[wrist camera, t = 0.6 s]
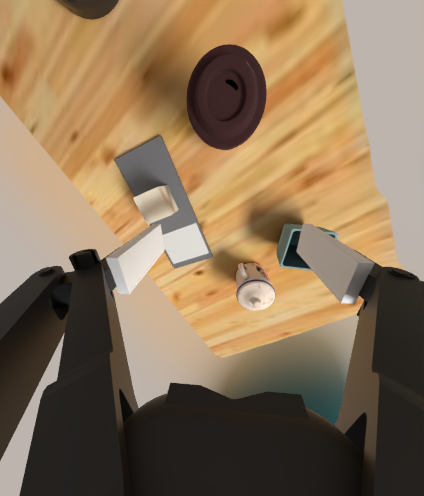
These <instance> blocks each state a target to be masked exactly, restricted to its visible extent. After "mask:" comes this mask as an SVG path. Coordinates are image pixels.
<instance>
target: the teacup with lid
mask: <svg viewBox="0 0 424 496" xmlns="http://www.w3.org/2000/svg"><path fill="white" fill-rule="evenodd" d="M236 282H237V300H238V301H239V303H240V304H241V305H242V306H243V307H245V308H247V309H249V310H262V309H265V308H267V307H268V306H270V305H271V304H272V303H273V301H274V298H275V290H274V288H273V287H272V285H271V283H270V281H269V278H268V275H267V273H266V271H265V269H264V268H263V267H262V266H261V265H259V264H257V263H247V264H243V263H240V264H238V270H237V273H236Z"/></svg>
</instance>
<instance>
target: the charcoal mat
mask: <svg viewBox="0 0 424 496" xmlns="http://www.w3.org/2000/svg"><path fill="white" fill-rule="evenodd" d="M115 162H116V164H117V165H118V167H119V169H120V171H121V173H122V174H123V176H124V178H125V180H126V182H127V183H128V185H129V187H130V189H131V191H132V192H133V194H134V196H135V197H136V196H138V195H140V194H143V193H145V192H147V191H149V190H152V189H154V188H156V187H159V186H165V185H168V186H169V188H170V191H171V193H172V195H173V197H174V199H175V201H176V204H177V206H178V208H179V210H178V211H177V212H175V213H174V214H172V215H171V216H168V217H166V218H163V219H160V220H158V221H155V222H153V223H150V225H152V224H161V230H162V235H163V241H164V247H165V252H166V254H167V256H168V258H169V259H170V261H171V263H172V265H173V267H174V269H175V268H178V267H182V266H185V265H188V264H192V263H195V262H198V261H202V260H205V259H208V258H212V257H213V255H212V253H211V251H210V248H209V246H208V244H207V241H206V239H205V237H204V234H203V232H202V230H201V227H200V225H199V223H198V220H197V218H196V216H195V213H194V211H193V208H192V206H191V204H190V201H189V199H188V197H187V194H186V192H185V190H184V187H183V185H182V183H181V180H180V178H179V176H178V173H177V171H176V169H175V166H174V164H173V162H172V159H171V157H170V155H169V152H168V150H167V148H166V145H165V143H164V141H163V138H162V136H159V137H157V138H155V139H153V140H151V141H149V142H148V143H146V144H144V145H142V146H140V147H138V148H136V149H134V150H133V151H131V152H129V153H127V154H125V155H123V156H121V157H120V158H118V159H116V160H115Z"/></svg>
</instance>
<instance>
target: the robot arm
mask: <svg viewBox="0 0 424 496" xmlns="http://www.w3.org/2000/svg"><path fill="white" fill-rule="evenodd" d="M59 1H60V2H61V3H62V4H63V5H64V6H65V7H66V8H68V9H69V10H70V11H71V12H73V13H74V14H76V15H78V16H80V17H83V18H87V19H97V18H101V17H103V16H105V15H107V14H108V13H109V12H110V11H111V10H112V9H113V8H114V7H115V5H116V4H117V2H118V0H59ZM164 250H165V247H164V241H163V235H162V230H161V224H152V225H151V226H150V227H148V228H147V229H145V230H144V231H143V232H141V233H140V234H138V235H137V236H136V237H134V238H133V239H131V240H130V241H128V242H127V243H126V244H124V245H123V246H121V247H120V248H118V249H116V250H115V251H114V252H112V253H111V254H110V255H108V256H107V257H105V258H103V259H102V260H101V261H100V258H99V256H98V253H97V251H96V250H95V249H87V250H82V251H78V252H76V253H73V254H72V255H70V256H69V259H70V261H71V263H72V265H73V267H74V269H75V271H73V272H67V273H64V271H63V269H62V267H61V266H53V267H47V268H43V269H41V270H40V271H38V272H36V273H34V274H33V275H31V276H30V277H29V278H28V279H27V280H26V281H25V282H24V283H23V284H22V285H20V286H19V288H17V289H16V290H15V291H14V292H13V293H12V294H11V295H10V296H8V297H7V298H6V299H5V300H4V301H3V302H2V303H1V304H0V460H1V458H2V456H3V454H4V452H5V450H6V448H7V446H8V444H9V442H10V440H11V438H12V436H13V434H14V432H15V430H16V428H17V426H18V424H19V422H20V420H21V418H22V416H23V414H24V412H25V410H26V408H27V406H28V404H29V402H30V400H31V398H32V396H33V394H34V392H35V390H36V388H37V386H38V384H39V382H40V380H41V378H42V376H43V374H44V372H45V370H46V368H47V366H48V364H49V362H50V360H51V358H52V356H53V354H54V352H55V350H56V348H57V346H58V344H59V342H60V340H61V338H62V336H63V334H64V332H65V335H64V341H63V347H62V353H61V360H60V366H59V372H58V378H57V381H56V382H54V383H52V384H50V385H48V386H47V387H46V389H45V390H44V391H43V394H42V397H41V400H40V404H39V409H38V414H37V418H36V423H35V427H34V432H33V437H32V441H31V446H30V450H29V455H28V460H27V464H26V468H25V474H24V478H23V482H22V487H21V491H20V496H424V282H423V281H420V280H419V278H418V277H417V276H415V275H414V274H412V273H409V272H407V271H405V270H402V269H398V268H393V267H382V266H380V265H378V264H377V263H375V262H373V261H372V260H370V259H368V258H367V257H365V256H363V255H362V254H360V253H359V252H357V251H355V250H353V249H351V248H349V247H348V246H346V245H345V244H343V243H341V242H340V241H338V240H337V239H335V238H333V237H332V236H330V235H329V234H327V233H325V232H324V231H322V230H320V229H319V228H317V227H316V226H314V225H312V224H303V225H302V230H301V234H300V238H299V243H298V247H297V251H296V252H297V253H298V254H299V255H300V256H301V258H302V259H303V260H304V261H305V262H306V263H307V264H308V266H309V267H310V268H311V269H312V270H313V271H314V273H315V274H316V275H317V276H318V277H319V278H320V279H321V281H322V282H323V283H324V284H325V285H326V286H327V288H328V289H329V290H330V291H331V292H332V293H333V295H334V296H335V297H336V298H337V299H338V300H339V301H340V303H353V304H355V302H356V300H357V298H358V296H361V297H362V298H363V299H364V302H363V304H362V306H361V308H360V309H359V311H358V313H357V316H359V321H358V325H357V330H356V336H355V341H354V345H353V350H352V355H351V360H350V364H349V370H348V374H347V379H346V384H345V389H344V394H343V399H342V404H341V408H340V413H339V416H338V419H337V422H336V424H335V426H334V425H333V424H332V423H330V422H329V421H327V420H326V419H325V418H323V417H322V416H320V415H319V414H317V413H315V412H313V411H311V410H310V409H307V408H305V405H304V402H303V399H302V396H301V395H298V394H287V393H276V392H264V393H260V394H256V395H252V396H248V397H244V398H240V399H230V398H228V397H226V396H223V395H221V394H219V393H217V392H214V391H212V390H210V389H208V388H205V387H203V386H200V385H190V384H179V383H170V386H169V390H168V394H164V395H161V396H159V397H156V398H154V399H153V400H151V401H149V402H147V403H146V404H145V405H143V406H142V407H140V408H138V405H137V402H136V399H135V395H134V391H133V386H132V381H131V376H130V371H129V367H128V362H127V357H126V352H125V347H124V342H123V337H122V332H121V327H120V323H119V318H118V313H117V308H116V303H115V298H114V294H113V292H112V290H113V289H114V288H115V287H116V288H117V290H118V293H119V294H130V293H131V292H132V291H133V289H134V288H135V287H136V285H137V284H138V283H139V282H140V280H141V279H142V278H143V277H144V275H145V274H146V273H147V272H148V270H149V269H150V268H151V267H152V265H153V264H154V263H155V262H156V260H157V259H158V258H159V257H160V255H161V254H162V253H163V252H164Z"/></svg>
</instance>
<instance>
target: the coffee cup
mask: <svg viewBox="0 0 424 496" xmlns="http://www.w3.org/2000/svg"><path fill="white" fill-rule="evenodd" d="M265 103H266V82H265V77H264V74H263V71H262V68H261V66H260V64H259V63H258V61H257V60H256V59H255V57H254V56H253V55H252V54H251V53H250V52H249V51H248V50H246V49H244V48H242V47H240V46H237V45H221V46H218V47H216V48H214V49H212V50H210V51H209V52H208V53H207V54H205V55H204V56H203V57H202V58H201V60H200V61H199V62H198V64H197V65H196V67H195V68H194V70H193V73H192V75H191V78H190V81H189V85H188V90H187V110H188V115H189V119H190V121H191V124H192V126H193V128H194V130H195V132H196V133H197V134H198V136H199V137H200V138H201V139H202V140H203V141H204V142H205V143H206V144H208V145H209V146H211V147H214V148H217V149H221V150H229V149H233V148H235V147H237V146H239V145H241V144H242V143H244V142H245V141H246V140H247V139H248V138H249V137H250V136H251V135H252V134H253V133H254V131H255V130H256V128H257V126H258V125H259V123H260V120H261V118H262V116H263V112H264V109H265Z"/></svg>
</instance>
